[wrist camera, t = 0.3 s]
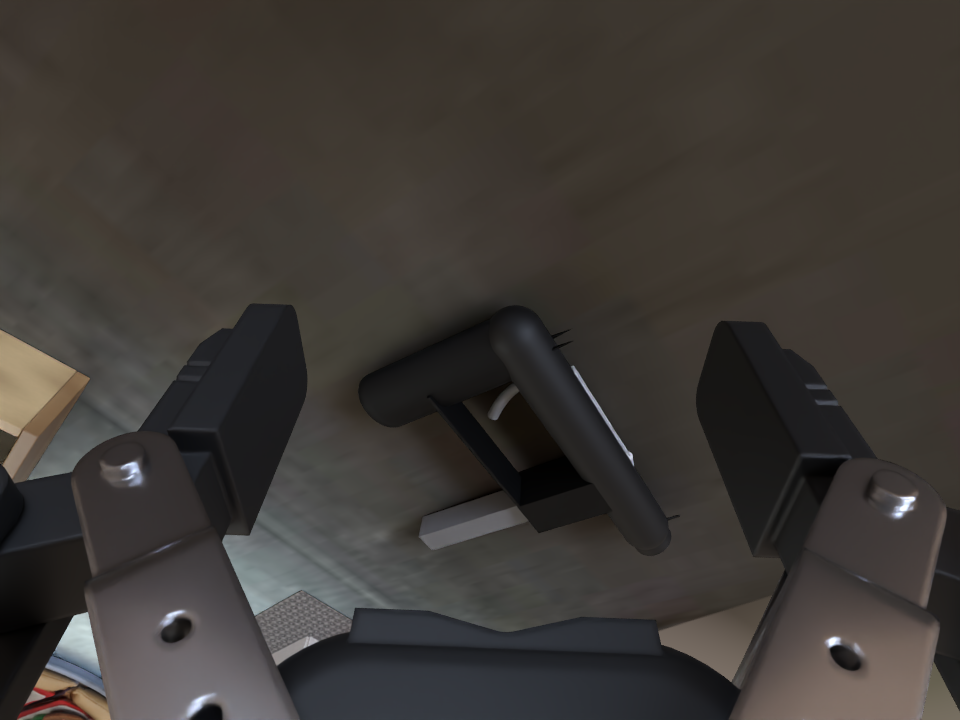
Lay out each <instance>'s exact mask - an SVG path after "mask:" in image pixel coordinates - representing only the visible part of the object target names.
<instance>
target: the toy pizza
mask: <svg viewBox="0 0 960 720" xmlns="http://www.w3.org/2000/svg"><path fill="white" fill-rule="evenodd" d="M17 720H111V718H110V713H109V709H108V704H107V699H106V694H105V690H104V685H103V680H102V679H101V678H99V677H97V676H95V675H93V674H92V673H90V672H88V671H86V670H84V669H82V668H80V667H78V666H76V665H73V664H71V663H69V662H66V661H64V660H62V659H59V658H56V657H54V656H51V658H50V660H49V661H48V663H47V665H46V667H45V669H44V671H43V672H42V674H41V676H40V678H39V680H38V681H37V683H36V685H35V687H34V689H33V691H32V692H31V694H30V696H29V698H28V700H27V702H26V703H25V705H24V707H23V709H22V711H21V712H20V714H19V716H18V718H17Z"/></svg>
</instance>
